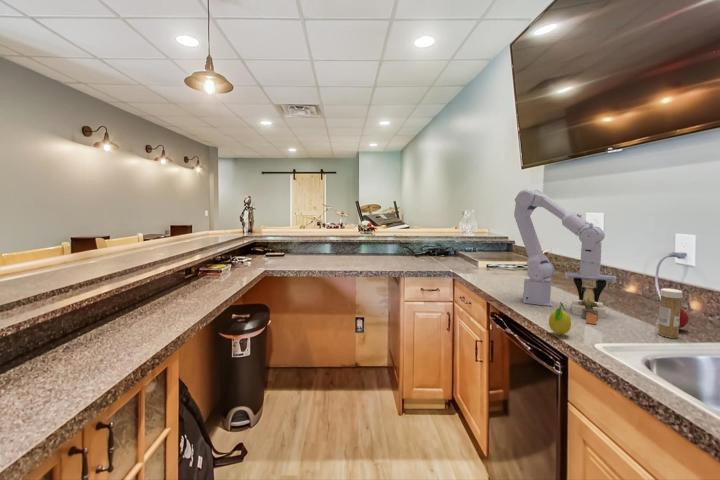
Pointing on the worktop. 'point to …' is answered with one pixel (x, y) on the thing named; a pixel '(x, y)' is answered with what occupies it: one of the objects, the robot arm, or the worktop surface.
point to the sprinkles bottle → (669, 312)
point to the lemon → (560, 321)
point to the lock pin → (591, 318)
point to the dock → (578, 308)
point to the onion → (683, 318)
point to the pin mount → (589, 312)
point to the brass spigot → (588, 297)
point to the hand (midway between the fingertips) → (588, 300)
